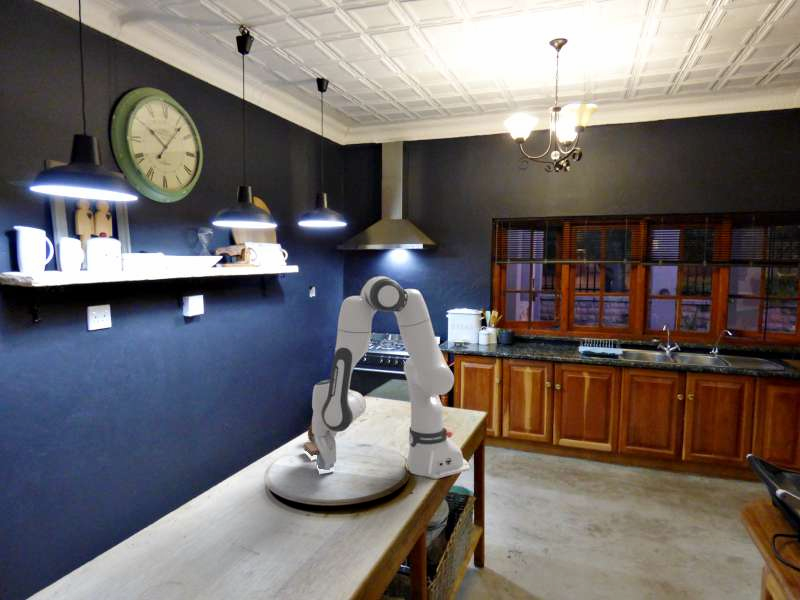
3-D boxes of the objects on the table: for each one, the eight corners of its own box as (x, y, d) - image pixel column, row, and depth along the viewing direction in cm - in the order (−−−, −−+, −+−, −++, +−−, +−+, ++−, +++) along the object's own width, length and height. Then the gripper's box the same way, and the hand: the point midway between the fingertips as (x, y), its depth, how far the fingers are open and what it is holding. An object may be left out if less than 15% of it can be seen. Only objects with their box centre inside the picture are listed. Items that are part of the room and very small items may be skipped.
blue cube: (330, 466, 169) (330, 453, 169) (333, 472, 164) (333, 458, 164) (316, 468, 167) (316, 454, 167) (319, 474, 163) (319, 460, 162)
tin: (311, 446, 187) (311, 425, 187) (306, 444, 189) (306, 423, 189) (339, 435, 199) (339, 415, 199) (333, 434, 201) (333, 414, 201)
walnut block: (324, 450, 185) (324, 440, 184) (332, 457, 178) (332, 447, 177) (304, 454, 181) (304, 443, 180) (311, 461, 174) (311, 451, 173)
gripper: (341, 436, 156) (340, 477, 157) (328, 416, 175) (328, 453, 176) (321, 438, 154) (321, 480, 155) (311, 418, 173) (311, 455, 174)
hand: (325, 466), depth 166 cm, fingers closed on blue cube, 5 cm apart
